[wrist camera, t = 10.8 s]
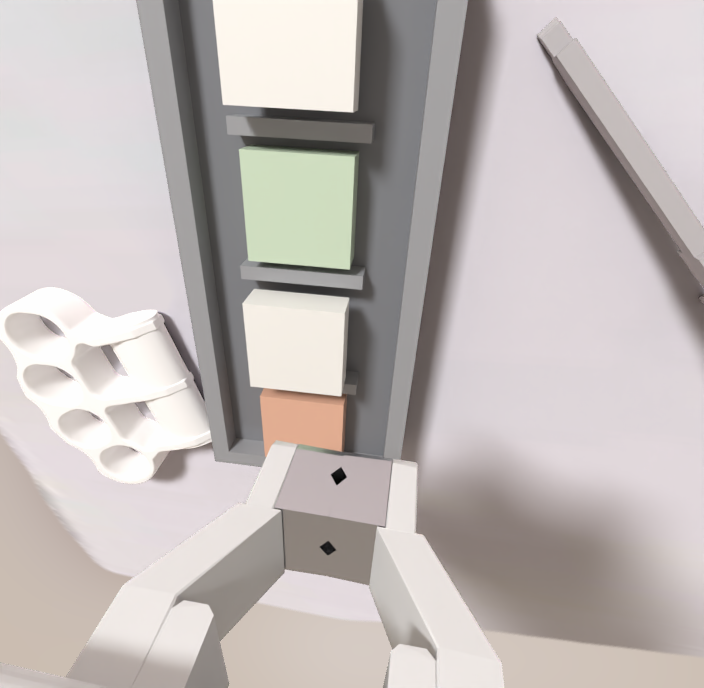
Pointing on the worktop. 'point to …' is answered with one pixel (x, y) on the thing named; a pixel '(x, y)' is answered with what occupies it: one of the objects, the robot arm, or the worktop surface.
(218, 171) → the grey divided tray
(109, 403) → the knuckle duster
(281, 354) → the off-white square tile
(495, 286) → the worktop surface
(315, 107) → the key cream end
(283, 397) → the block
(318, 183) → the key sage
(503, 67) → the worktop surface
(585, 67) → the caliper
